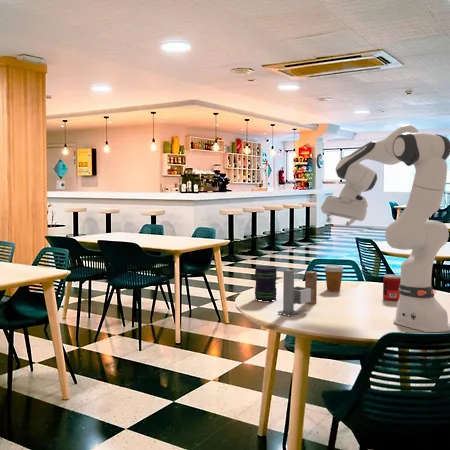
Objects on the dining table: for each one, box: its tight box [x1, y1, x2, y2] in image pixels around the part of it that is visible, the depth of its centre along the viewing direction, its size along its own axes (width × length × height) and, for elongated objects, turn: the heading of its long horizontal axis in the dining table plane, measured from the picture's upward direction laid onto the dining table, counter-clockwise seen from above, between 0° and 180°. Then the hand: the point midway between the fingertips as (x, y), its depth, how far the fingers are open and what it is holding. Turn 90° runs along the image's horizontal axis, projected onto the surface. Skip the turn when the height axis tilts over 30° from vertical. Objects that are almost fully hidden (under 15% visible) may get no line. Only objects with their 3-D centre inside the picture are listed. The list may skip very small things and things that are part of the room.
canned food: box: [382, 273, 401, 302], centre depth 238 cm, size 8×8×11 cm
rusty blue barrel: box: [254, 265, 277, 301], centre depth 236 cm, size 10×10×15 cm
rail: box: [304, 270, 318, 305], centre depth 230 cm, size 4×4×14 cm
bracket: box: [277, 268, 311, 317], centre depth 213 cm, size 14×7×18 cm, turn 136°
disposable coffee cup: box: [323, 264, 344, 292], centre depth 258 cm, size 10×10×12 cm
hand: (337, 224), depth 231 cm, fingers open, 8 cm apart
